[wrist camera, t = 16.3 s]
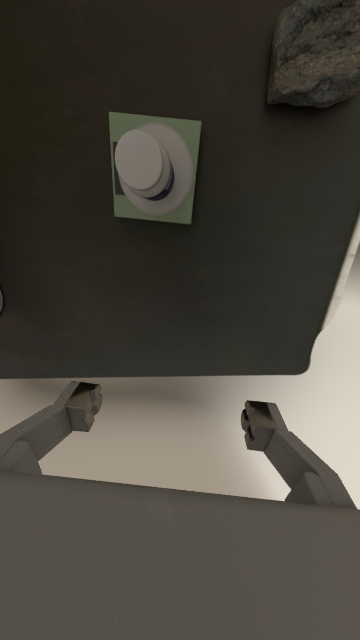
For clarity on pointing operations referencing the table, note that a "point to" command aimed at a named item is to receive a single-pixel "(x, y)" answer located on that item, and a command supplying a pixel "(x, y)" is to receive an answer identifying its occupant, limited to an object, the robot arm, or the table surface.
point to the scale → (183, 156)
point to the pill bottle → (144, 165)
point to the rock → (315, 53)
